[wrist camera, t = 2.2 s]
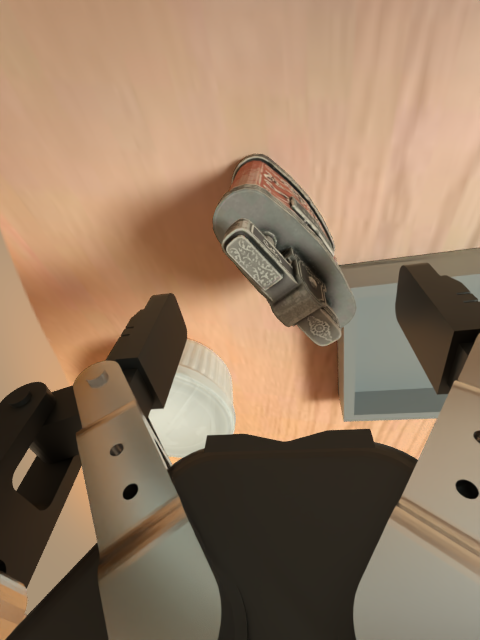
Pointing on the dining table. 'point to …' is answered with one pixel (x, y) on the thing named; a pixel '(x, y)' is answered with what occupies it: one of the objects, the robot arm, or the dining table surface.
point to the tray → (390, 341)
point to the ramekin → (195, 402)
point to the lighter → (284, 249)
